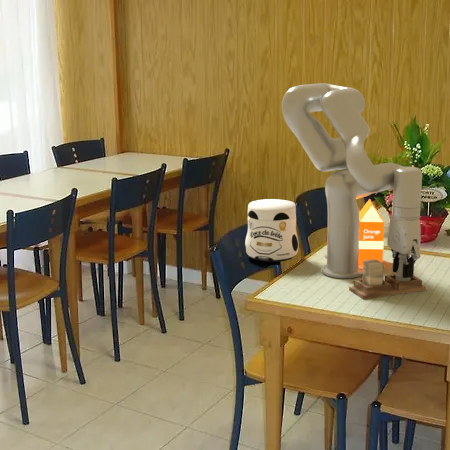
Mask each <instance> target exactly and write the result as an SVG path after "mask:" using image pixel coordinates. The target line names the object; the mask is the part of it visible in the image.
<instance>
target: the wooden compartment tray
mask: <svg viewBox="0 0 450 450" xmlns="http://www.w3.org/2000/svg"><path fill="white" fill-rule="evenodd" d="M362 268H363V274H362V275H361V276H362V278H358V279H353V286H349V287H348V291H350V292H351V293H353V294H354V295H356V296H357V297H359V298H360V299H362V300H369V299H375V298H381V297H382V298H384V297H389V296H394V295H402V294H409V293H415V292H417V293H418V292H423V291H427V286H426V285H424V284H423V280H422V279H420V278H418V277H417V276H415V275H413V277H410V278H411V280H410V281H405V282H399V281H397V280H396V279H395V277H396V276H395V274H396V273H395V274H387V275H384V262H383V263H382V262H380V261H378V260H377V259H372V260H364V261H363V267H362Z"/></svg>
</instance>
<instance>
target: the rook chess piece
mask: <svg viewBox="0 0 450 450" xmlns="http://www.w3.org/2000/svg"><path fill="white" fill-rule="evenodd" d="M398 257H399V267H398V271H397V272H396V273H395V276H396V277H395V279H396V280H397V281H399V282H405V281H410V280H411V278H410V277H408V278H403V264H405V260H404V255H403V254H401V253H399V255H398ZM410 257H411V255H408V259H409V258H410Z"/></svg>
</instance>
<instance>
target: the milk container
mask: <svg viewBox="0 0 450 450" xmlns="http://www.w3.org/2000/svg"><path fill="white" fill-rule="evenodd" d="M296 214H297V208H296V203H295V202H294V201H290V200H285V199H279V198H276V199H275V198H269V199H267V198H264V199H257V200H253V201H251V202H249V203H248V205H247V233H246V236H245V240H244V241H245V242H244V246H245V252H246V254H247V256H248V257H249V258H250V259H252V260H255V261H258V262H264V263H265V262H267V263H280V262H286V261H289V260H292V259H293V258H294V257H296V256H297V254H298V252H299V246H300V245H299V244H300V242H299V236H298V233H297V215H296Z"/></svg>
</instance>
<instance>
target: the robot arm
mask: <svg viewBox="0 0 450 450" xmlns="http://www.w3.org/2000/svg"><path fill="white" fill-rule="evenodd" d="M365 101H366V100H365V97H364V95H363V94H362V92H360V90H358V89H356V88H354V87H349V86H348V87H347V86H342V85H337V84H331V83H326V82H325V83H321V82H320V83H310V84H309V83H308V84H300V85H296V86H292V87H290V88H289V89H288V90H286V92H285V93H284V95H283V97H282V101H281V113H282V118H283V120H284V122H285V124H286V126H287V128H289V129H290V131H291V132H292V134H293V135H294V136H295V138H296V139H297V140H298V142H299V144H300V145H301V147H302V148H303V150H304V151H305V153H306V155H307V156H308V158H309V159H310V161H311V162H312V165H314V167H315V168H316V170H318V171H320V172H323V173H325V172H326V173H328V172H332V173H330V175H329V176H328V177H327V179H325V183H324V184H325V185H324V192H325V197H326V204H327V234H326V235H327V236H326V237H327V239H326V240H327V241H326V242H327V243H326V244H327V245H326V247H327V248H326V254H325V256H324V258H325V259H326V264H324V265H323V266H321V273H322V274H323V275H325V276H328V277H331V278H335V279H353V278H358V277H361V276H363V267H361V266H359V236H360V209H359V206H358V203H357V200H358V199H361V198H364V197H368V196H371V195H372V194H377V193H381V192H384V191H388V190H392V208H391V210H392V211H391V215H390V218H389V223H388V229H387V231H388V232H387V241H386V242H387V243H386V244H387V247H388V248H389V249H390V250H391V253H392V272H393V273H395V274H396V273H397V271H398V267H399V257H398V255H399V253H401V254H403V255H404V260H405V264H403V278H408V277H413V276H414V274H415V273H414V270H415V264H416V262H417V261H418V260H419V259H421V252H420V250H421V242H422V241H421V236H422V235H421V234H422V233H421V231H422V230H421V219H420V218H421V217H420V216H421V204H422V203H421V202H422V201H421V200H422V186H423V181H422V180H423V171H422V170H421V169H420V168H419V167H415V166H405V165H402V164H397V163H394V162H384V163H380V164H373V162H372V160H370V158H369V156H368V154H367V153H366V149H365V140H366V139H367V138H368V137H369V135H370V133H371V128H370V126H369V124H368V123H367V121H366V120H365V118H364V117H363V116H362V112H363V111H364V109H365V108H366V107H365V106H366V102H365ZM316 112H323V113H324V116H325V117H326V118H327V120H328V122H329V123H330V124H331V126H332V128H333V130H335V132H336V134H337V135H338V137H335V138H333V137H331V135H330V134H329V133H328V131H327V130H326V128H325V127H324V125H323V124H322V123H321V122H320V121H319V120H318V119H317V118H315V117H314V116H313V115H312V114H311V113H316ZM408 255H409V256H410V257H409V258H408Z"/></svg>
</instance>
